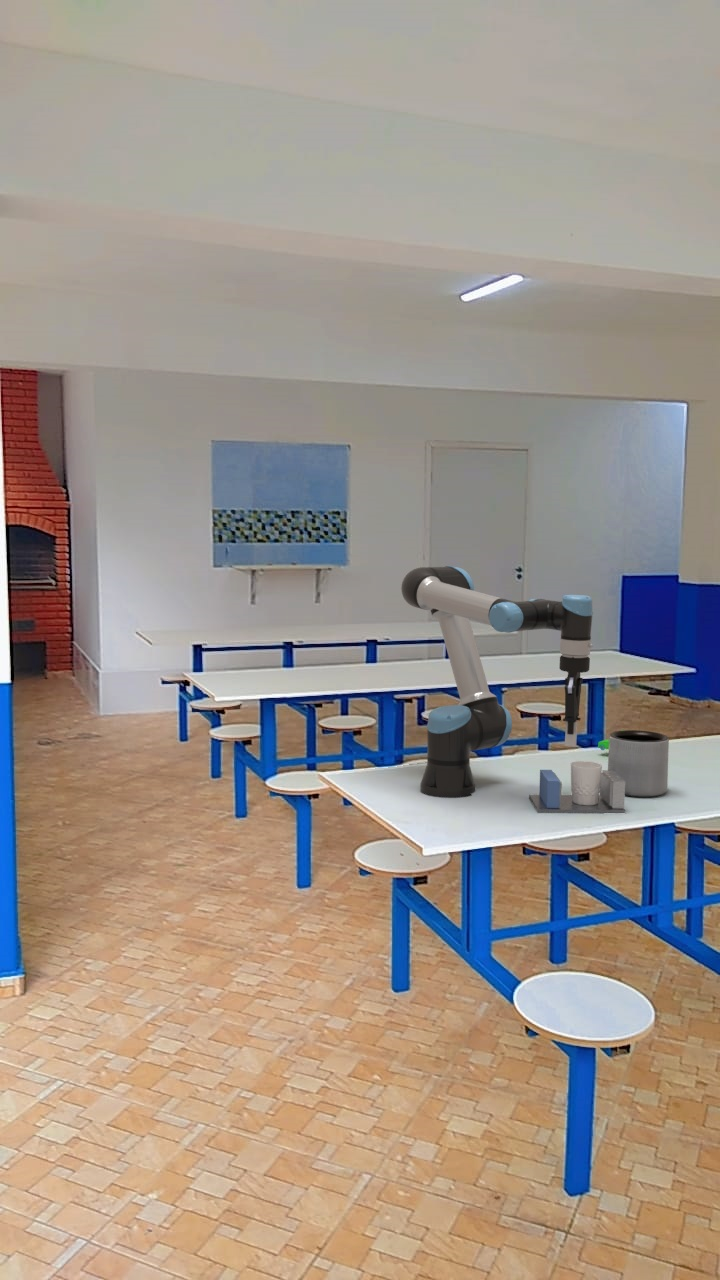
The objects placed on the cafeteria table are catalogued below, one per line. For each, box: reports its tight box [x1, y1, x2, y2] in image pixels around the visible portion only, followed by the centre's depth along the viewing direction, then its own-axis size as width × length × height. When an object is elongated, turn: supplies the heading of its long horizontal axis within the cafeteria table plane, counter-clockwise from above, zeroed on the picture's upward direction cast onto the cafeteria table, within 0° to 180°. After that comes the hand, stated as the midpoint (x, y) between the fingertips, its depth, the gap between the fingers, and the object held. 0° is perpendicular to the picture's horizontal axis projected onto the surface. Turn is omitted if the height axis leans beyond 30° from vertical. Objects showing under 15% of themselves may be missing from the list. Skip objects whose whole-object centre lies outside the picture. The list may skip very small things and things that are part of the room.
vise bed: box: [528, 794, 626, 815], centre depth 261 cm, size 22×14×1 cm, turn 89°
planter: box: [607, 729, 670, 798], centre depth 276 cm, size 16×16×16 cm
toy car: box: [597, 729, 624, 751], centre depth 328 cm, size 11×7×7 cm, turn 47°
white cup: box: [570, 760, 603, 805], centre depth 261 cm, size 8×8×10 cm
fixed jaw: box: [599, 769, 626, 809], centre depth 261 cm, size 4×12×7 cm, turn 179°
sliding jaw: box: [538, 769, 563, 808], centre depth 261 cm, size 4×12×7 cm, turn 179°
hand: (570, 745), depth 260 cm, fingers closed
